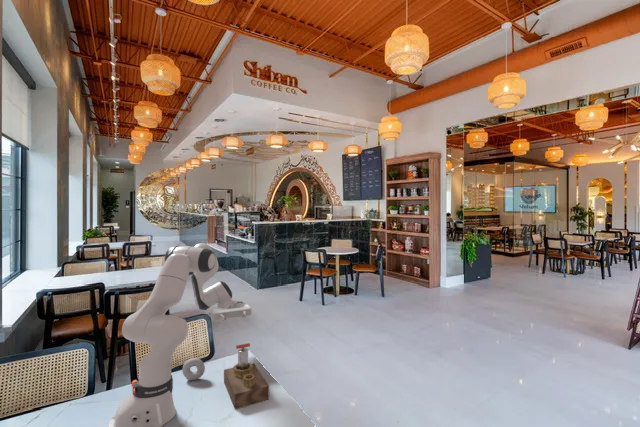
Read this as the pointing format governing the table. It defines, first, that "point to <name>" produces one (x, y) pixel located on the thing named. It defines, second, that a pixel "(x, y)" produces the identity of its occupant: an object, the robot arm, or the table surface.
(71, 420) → the table surface
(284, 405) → the table surface
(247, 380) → the manifold block
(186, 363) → the donut
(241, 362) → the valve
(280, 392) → the table surface
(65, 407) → the table surface
